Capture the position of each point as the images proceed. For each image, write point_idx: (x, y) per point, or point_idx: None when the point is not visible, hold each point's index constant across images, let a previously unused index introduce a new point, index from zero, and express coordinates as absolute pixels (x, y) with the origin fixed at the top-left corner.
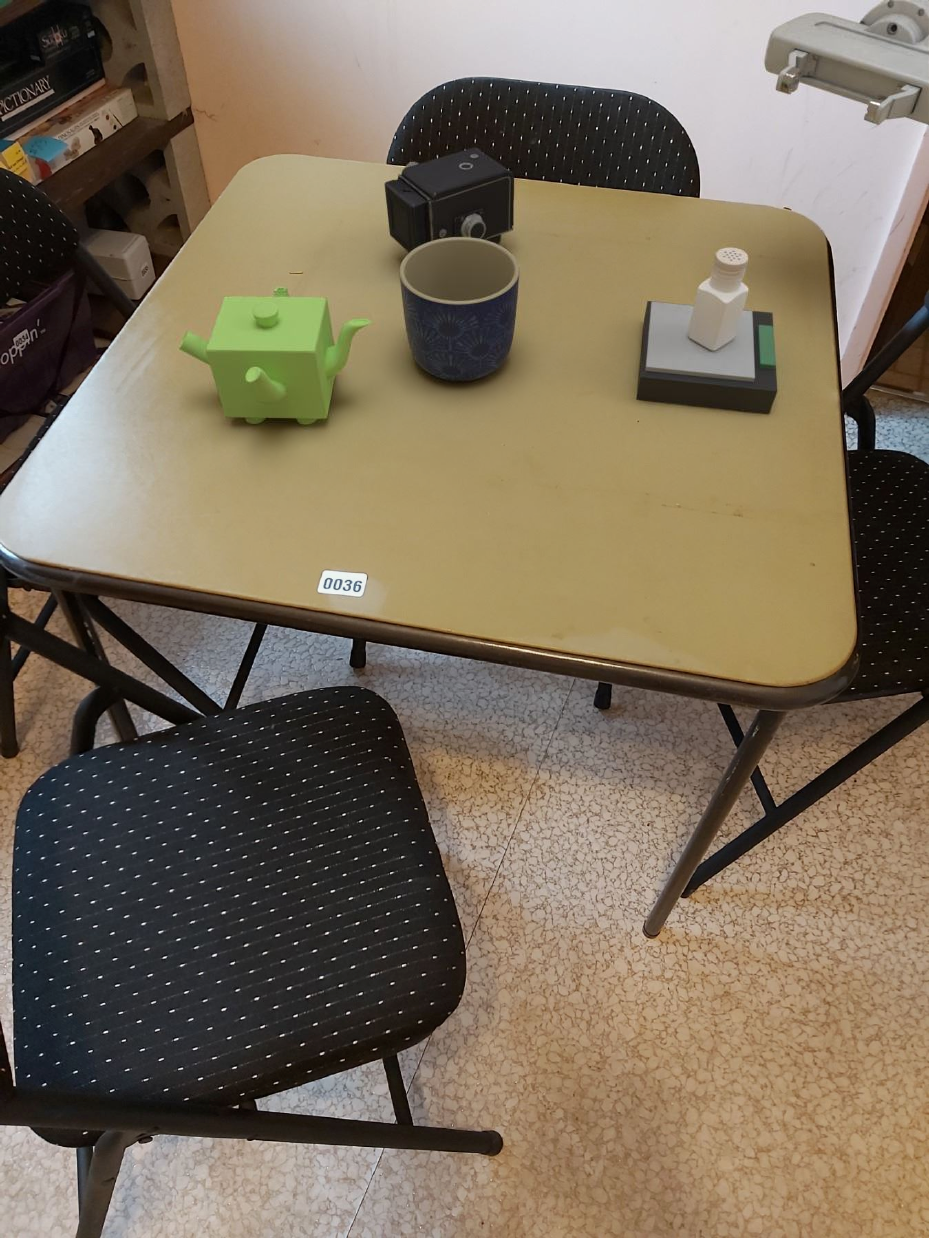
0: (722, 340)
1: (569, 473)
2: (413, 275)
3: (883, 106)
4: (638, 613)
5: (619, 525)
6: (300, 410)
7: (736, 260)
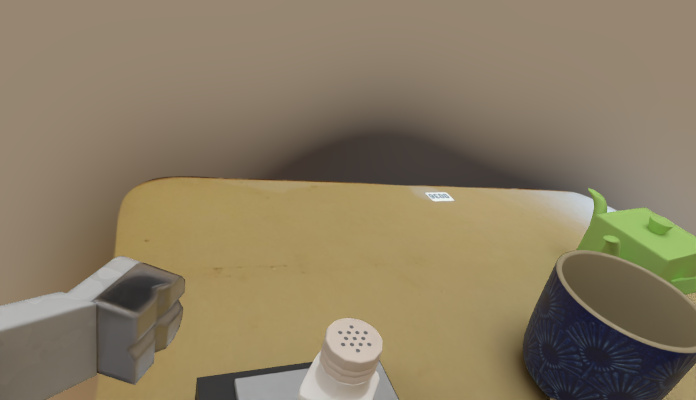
0: None
1: (374, 277)
2: (674, 321)
3: (125, 258)
4: (273, 199)
5: (312, 245)
6: None
7: (342, 329)
